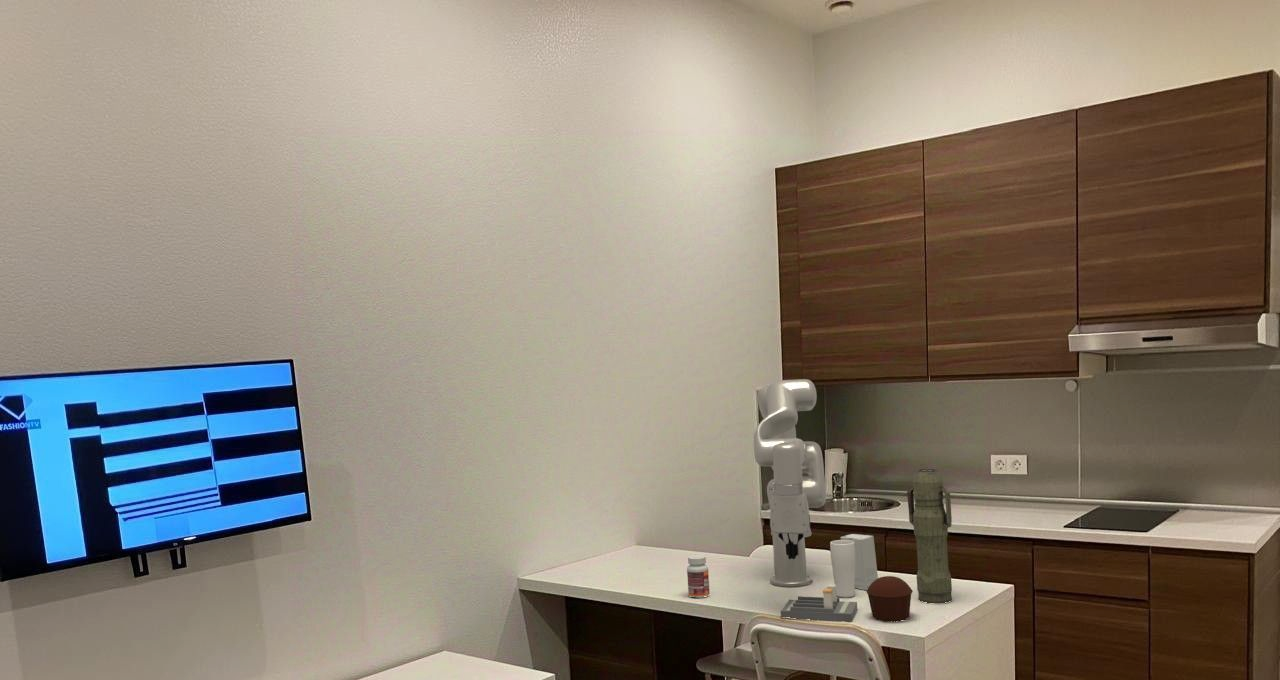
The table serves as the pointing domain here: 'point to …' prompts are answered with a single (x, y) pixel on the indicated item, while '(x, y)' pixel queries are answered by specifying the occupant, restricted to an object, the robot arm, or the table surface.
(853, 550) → the drinking glass
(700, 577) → the pill bottle
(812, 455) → the robot arm
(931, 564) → the green vase with handles
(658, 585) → the table surface
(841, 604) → the grey ridged tray
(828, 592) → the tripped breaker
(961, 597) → the table surface
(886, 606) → the muffin
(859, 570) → the skincare box
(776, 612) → the table surface
